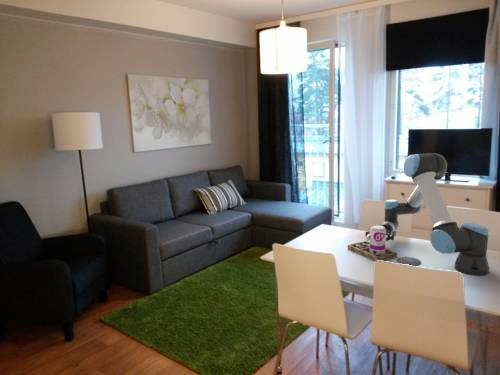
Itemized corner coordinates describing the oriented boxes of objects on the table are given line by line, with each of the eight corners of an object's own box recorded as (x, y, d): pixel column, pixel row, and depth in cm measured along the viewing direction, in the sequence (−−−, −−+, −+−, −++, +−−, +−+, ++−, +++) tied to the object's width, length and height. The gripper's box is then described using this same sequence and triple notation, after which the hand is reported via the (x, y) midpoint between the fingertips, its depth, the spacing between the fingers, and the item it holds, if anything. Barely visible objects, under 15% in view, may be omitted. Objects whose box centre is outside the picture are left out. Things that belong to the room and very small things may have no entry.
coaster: (426, 263, 206) (426, 262, 206) (409, 267, 201) (409, 266, 200) (407, 256, 216) (407, 255, 216) (391, 260, 211) (391, 259, 211)
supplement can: (386, 255, 214) (386, 229, 211) (370, 255, 216) (370, 228, 213) (384, 250, 222) (384, 225, 219) (368, 250, 224) (369, 224, 221)
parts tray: (396, 257, 216) (397, 252, 215) (377, 261, 209) (377, 257, 209) (366, 244, 237) (366, 240, 236) (347, 248, 231) (347, 244, 230)
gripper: (404, 238, 227) (395, 249, 208) (368, 233, 238) (356, 243, 220) (405, 225, 226) (395, 235, 207) (368, 221, 237) (356, 230, 219)
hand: (375, 239), depth 213 cm, fingers closed on supplement can, 8 cm apart
